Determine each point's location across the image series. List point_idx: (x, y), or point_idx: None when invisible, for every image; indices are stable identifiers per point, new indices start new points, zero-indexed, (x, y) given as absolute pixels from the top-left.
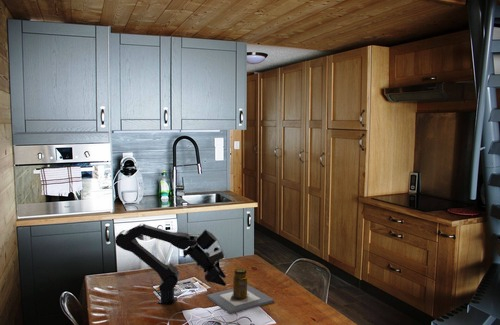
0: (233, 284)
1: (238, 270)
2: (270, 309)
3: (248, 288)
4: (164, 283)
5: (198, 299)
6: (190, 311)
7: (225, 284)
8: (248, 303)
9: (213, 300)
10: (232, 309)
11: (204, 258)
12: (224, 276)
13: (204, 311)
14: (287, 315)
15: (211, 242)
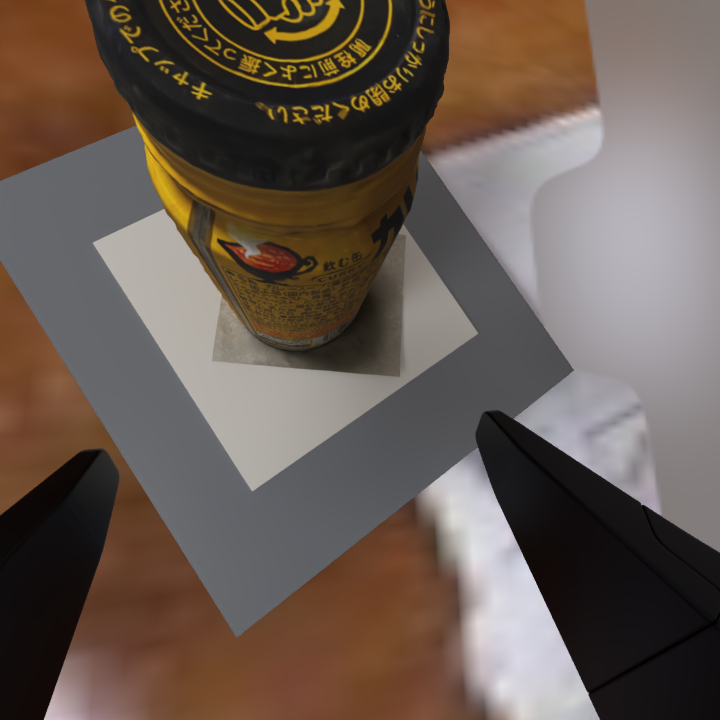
0: (311, 316)
1: (283, 42)
2: (462, 103)
3: (78, 204)
4: None
5: (297, 703)
6: (547, 711)
7: (502, 423)
8: (421, 229)
9: (357, 537)
10: (534, 353)
11: None
12: (100, 477)
13: (535, 582)
14: (532, 27)
15: None
